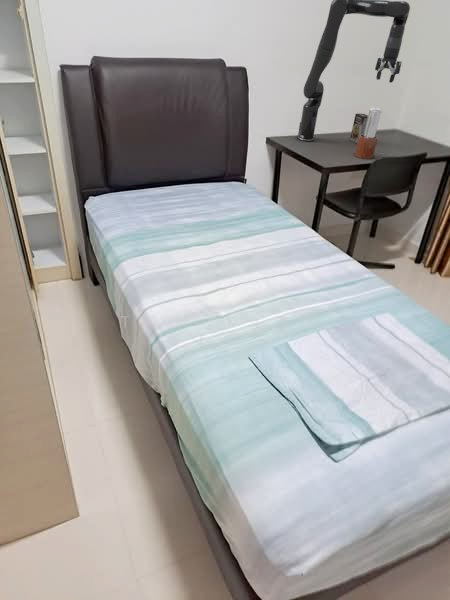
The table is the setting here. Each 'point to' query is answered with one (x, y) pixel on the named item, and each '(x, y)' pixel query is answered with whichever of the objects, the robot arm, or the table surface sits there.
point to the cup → (365, 147)
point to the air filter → (372, 123)
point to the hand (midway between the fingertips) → (384, 80)
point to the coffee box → (358, 127)
